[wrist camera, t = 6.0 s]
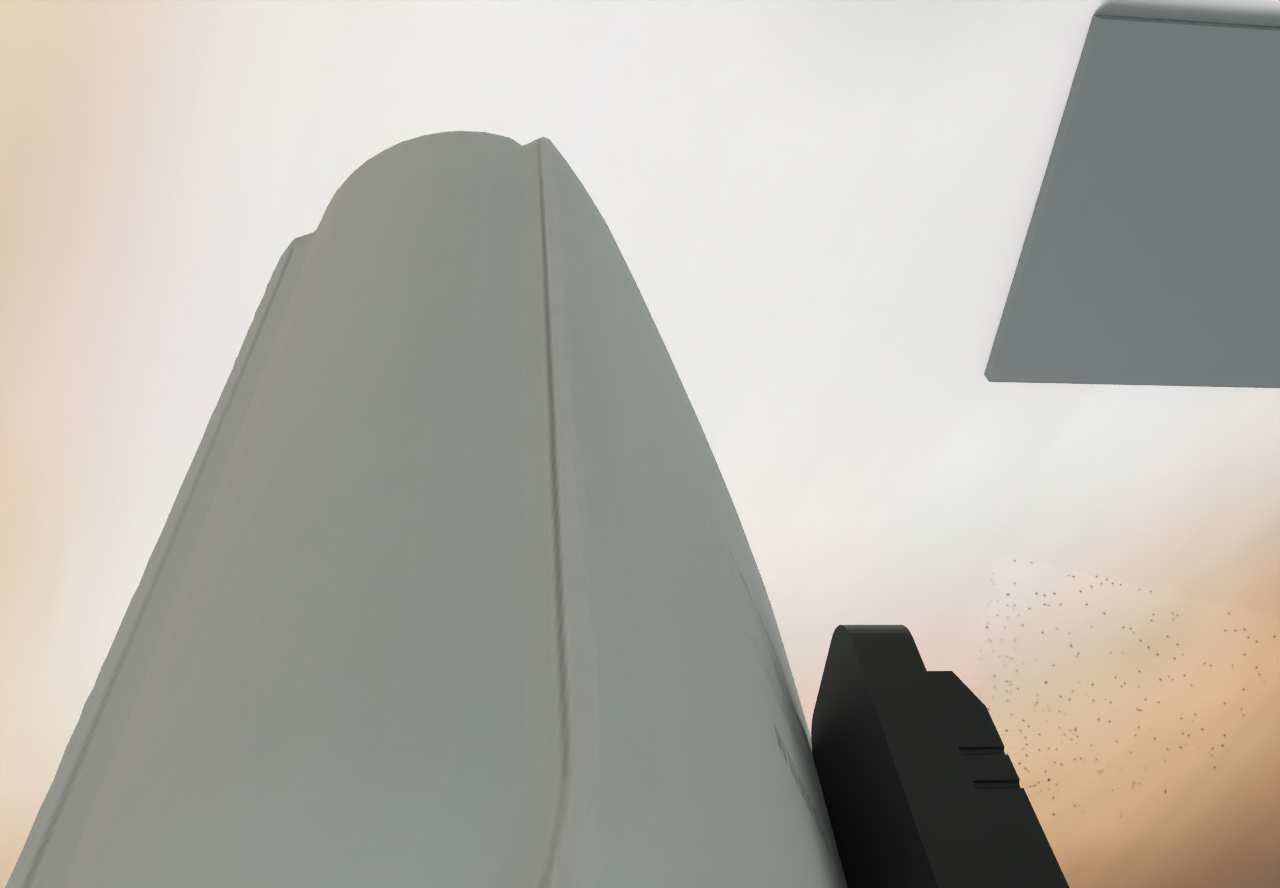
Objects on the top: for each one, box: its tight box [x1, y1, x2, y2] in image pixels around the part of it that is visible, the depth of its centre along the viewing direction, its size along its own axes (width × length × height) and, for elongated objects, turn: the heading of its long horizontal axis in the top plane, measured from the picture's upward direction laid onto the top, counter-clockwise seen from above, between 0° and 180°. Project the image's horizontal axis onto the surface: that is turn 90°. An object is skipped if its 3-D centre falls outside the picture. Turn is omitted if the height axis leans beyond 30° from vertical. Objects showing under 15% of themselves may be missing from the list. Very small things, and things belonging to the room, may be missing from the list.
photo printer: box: [5, 131, 848, 888], centre depth 11 cm, size 10×4×12 cm, turn 21°
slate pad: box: [984, 15, 1280, 388], centre depth 29 cm, size 12×10×1 cm
